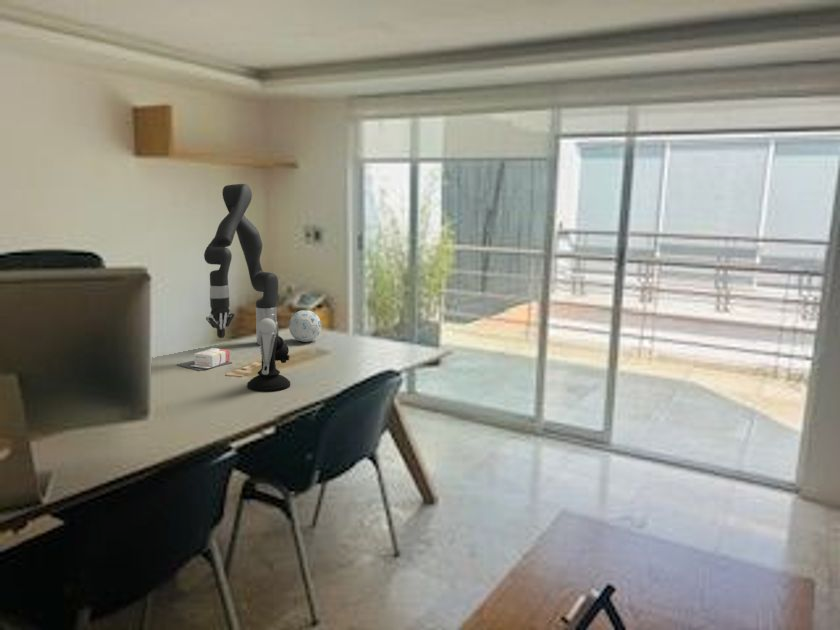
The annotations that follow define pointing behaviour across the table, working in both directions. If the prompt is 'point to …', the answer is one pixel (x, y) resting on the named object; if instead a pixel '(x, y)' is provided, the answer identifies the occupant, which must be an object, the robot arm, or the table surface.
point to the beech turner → (244, 370)
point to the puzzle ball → (305, 326)
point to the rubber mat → (188, 365)
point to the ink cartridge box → (211, 358)
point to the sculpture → (270, 360)
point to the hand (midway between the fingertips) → (221, 337)
